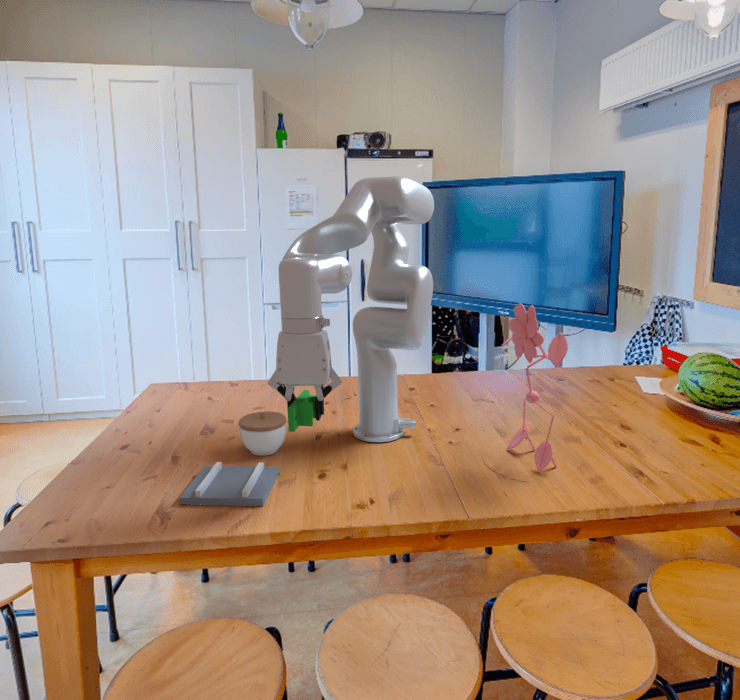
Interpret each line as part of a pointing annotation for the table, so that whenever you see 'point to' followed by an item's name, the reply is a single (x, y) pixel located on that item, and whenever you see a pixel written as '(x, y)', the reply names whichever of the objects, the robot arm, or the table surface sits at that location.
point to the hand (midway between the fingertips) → (306, 417)
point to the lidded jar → (263, 432)
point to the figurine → (525, 343)
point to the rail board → (231, 485)
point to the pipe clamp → (301, 411)
